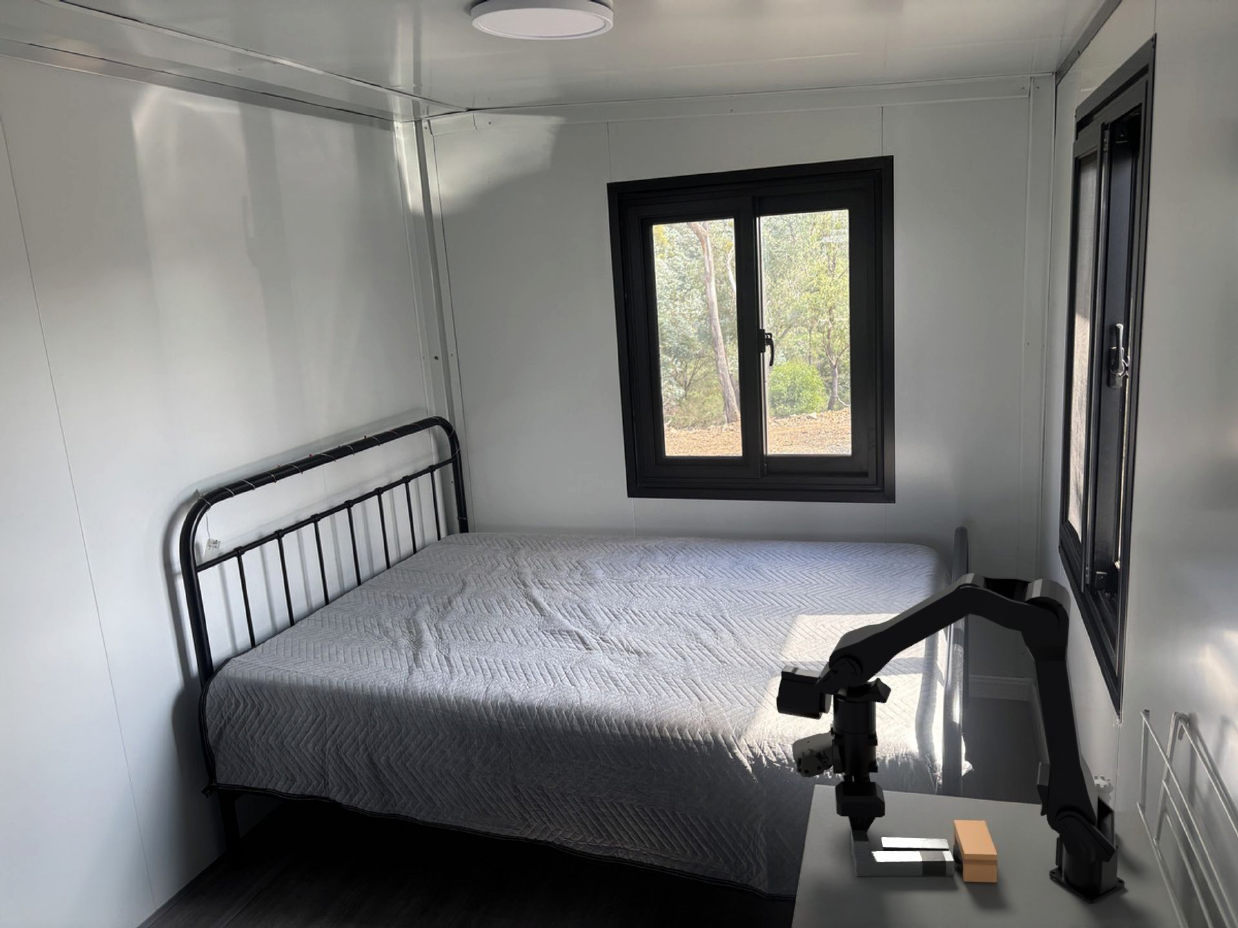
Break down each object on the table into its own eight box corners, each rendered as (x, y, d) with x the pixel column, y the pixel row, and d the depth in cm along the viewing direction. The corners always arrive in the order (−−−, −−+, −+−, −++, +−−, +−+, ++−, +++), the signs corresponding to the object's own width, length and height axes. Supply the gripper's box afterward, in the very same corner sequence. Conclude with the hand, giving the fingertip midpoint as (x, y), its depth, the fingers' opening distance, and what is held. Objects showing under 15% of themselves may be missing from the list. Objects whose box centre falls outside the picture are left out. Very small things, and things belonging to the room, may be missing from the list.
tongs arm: (945, 853, 129) (945, 829, 128) (953, 875, 125) (954, 849, 124) (851, 854, 131) (851, 830, 130) (856, 876, 126) (856, 850, 125)
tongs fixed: (980, 855, 129) (981, 839, 128) (988, 875, 125) (988, 859, 124) (881, 852, 131) (881, 837, 130) (885, 872, 127) (885, 856, 126)
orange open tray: (984, 846, 130) (984, 820, 129) (996, 882, 123) (997, 854, 122) (953, 846, 131) (953, 819, 130) (964, 881, 124) (964, 853, 123)
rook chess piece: (1108, 821, 134) (1111, 770, 132) (1121, 841, 130) (1124, 788, 128) (1074, 821, 134) (1077, 770, 132) (1086, 841, 130) (1089, 789, 128)
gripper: (793, 689, 142) (796, 782, 146) (796, 759, 124) (799, 863, 128) (870, 690, 140) (871, 784, 144) (885, 761, 122) (885, 866, 126)
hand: (855, 821), depth 135 cm, fingers open, 8 cm apart
